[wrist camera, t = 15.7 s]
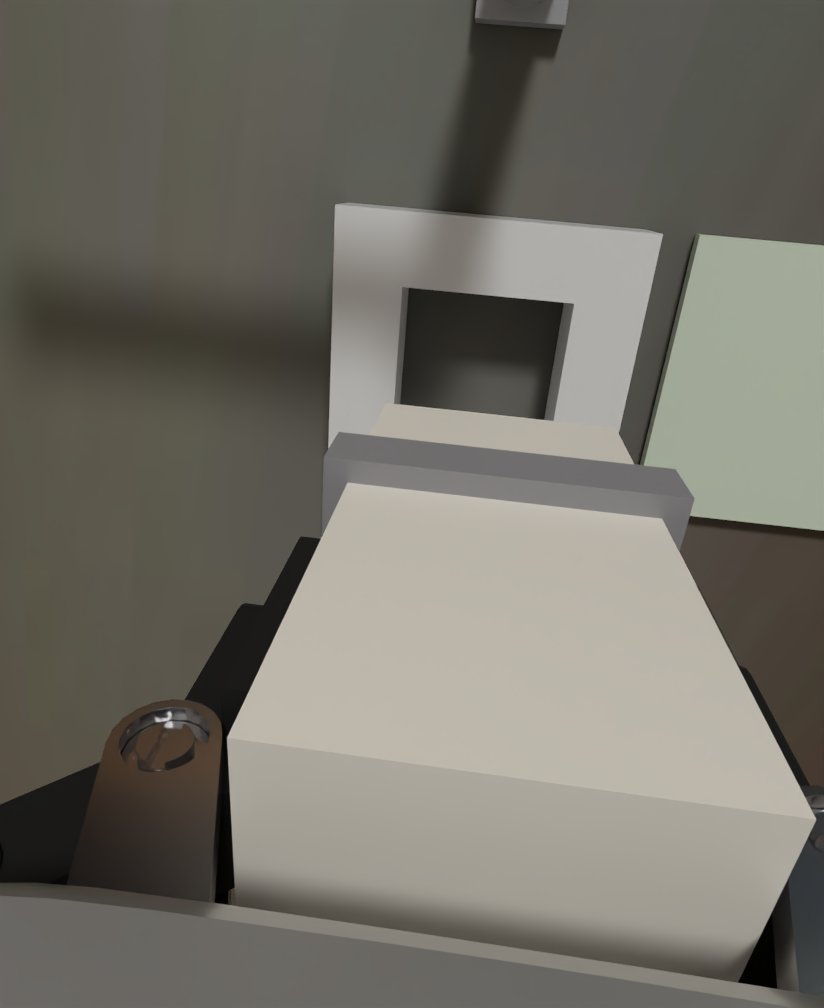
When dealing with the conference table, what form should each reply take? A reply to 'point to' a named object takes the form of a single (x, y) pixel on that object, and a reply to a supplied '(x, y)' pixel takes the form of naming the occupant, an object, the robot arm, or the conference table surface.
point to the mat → (746, 383)
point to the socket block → (488, 286)
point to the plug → (510, 710)
